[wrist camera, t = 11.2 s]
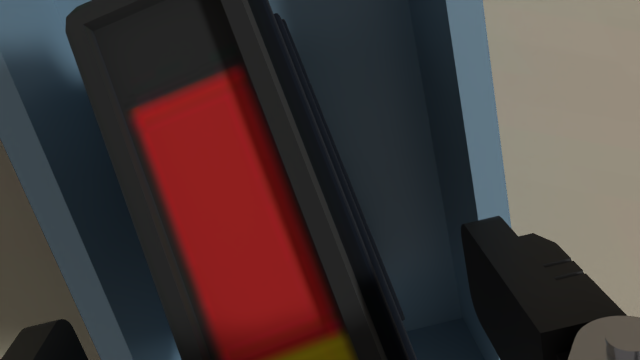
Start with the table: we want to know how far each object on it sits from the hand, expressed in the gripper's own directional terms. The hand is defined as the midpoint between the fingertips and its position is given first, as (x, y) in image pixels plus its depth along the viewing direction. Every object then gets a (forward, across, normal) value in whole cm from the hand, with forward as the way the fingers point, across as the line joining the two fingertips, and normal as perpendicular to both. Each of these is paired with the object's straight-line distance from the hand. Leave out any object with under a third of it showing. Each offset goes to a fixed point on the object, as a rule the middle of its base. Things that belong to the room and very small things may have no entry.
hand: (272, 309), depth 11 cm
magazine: (+11, 0, 0) cm, 11 cm away
